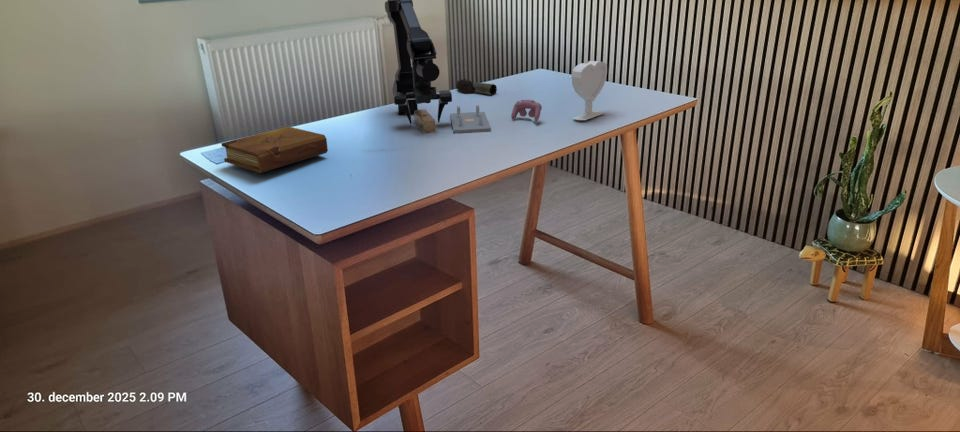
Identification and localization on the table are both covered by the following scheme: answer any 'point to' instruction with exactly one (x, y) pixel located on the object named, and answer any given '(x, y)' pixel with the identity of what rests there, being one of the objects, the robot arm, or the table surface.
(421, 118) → the tan wooden bar
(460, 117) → the set of grey blocks
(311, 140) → the diary
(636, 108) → the table surface
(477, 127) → the plate
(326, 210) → the table surface
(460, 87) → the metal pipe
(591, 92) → the heart sculpture
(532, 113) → the video game controller
